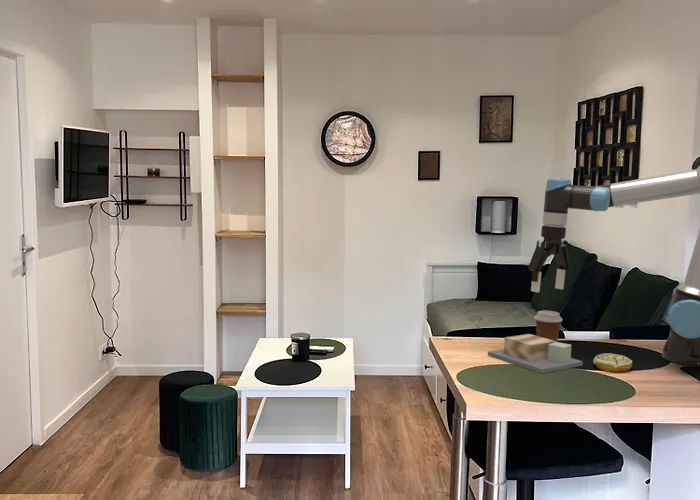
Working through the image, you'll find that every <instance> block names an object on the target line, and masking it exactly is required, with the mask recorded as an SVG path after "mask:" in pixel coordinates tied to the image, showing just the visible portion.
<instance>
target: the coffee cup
mask: <svg viewBox="0 0 700 500" xmlns="http://www.w3.org/2000/svg"><path fill="white" fill-rule="evenodd" d="M533 319H534V320H535V323H536V324H535V325H536V326H535V327H536V336H539V337H543V338H546V339H550V340H554V341H556V342H558V341H559V333H560V329H561V322H563V318H562V317H561V315H560V312H557V311H554V310H553V311H552V310H539V311H537V314H535V315H534V318H533Z"/></svg>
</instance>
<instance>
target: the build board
mask: <svg viewBox="0 0 700 500" xmlns="http://www.w3.org/2000/svg"><path fill="white" fill-rule="evenodd" d="M487 356H488V357H491V358H495V359H497V360H500V361H503V362H506V363H510V364H512V365H515V366H519V367H521V368H525V369H527V370H530V371H534V372H537V373H540V374H546V373H550V372H556V371H561V370H566V369H571V368H576V367H582V366H583V365H584V362H583V361H582V360H579V359H575V358H572V357H571V361H569V362H567V363H565V364H561V363H556V362H551V361H548V358H547V359H542V360H536V361H528V360H524V359H521V358H518V357H515V356H512V355H509V354H506V353H504V348H503V349H497V350H489V351H487Z"/></svg>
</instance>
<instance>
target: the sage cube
mask: <svg viewBox="0 0 700 500" xmlns="http://www.w3.org/2000/svg"><path fill="white" fill-rule="evenodd" d="M571 358H572V344H570V343H569V344H568V343H563V342H554V343H551V344H549V345H548V361H551V362H556V363H561V364H565V363H567V362H569V361H571Z"/></svg>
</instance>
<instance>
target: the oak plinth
mask: <svg viewBox="0 0 700 500" xmlns="http://www.w3.org/2000/svg"><path fill="white" fill-rule="evenodd" d="M554 342H556V341H554V340H550V339H546V338H543V337H539V336H537V335H534V334H530V333H526V334H520V335H519V334H518V335H512V336H511V335H510V336H505V337H504V343H503V344H504V345H503V346H504V348H503V349H504V353H506V354H509V355H512V356H515V357H518V358H521V359H524V360H528V361H536V360H542V359H547V358H548V345H549V344H551V343H554Z"/></svg>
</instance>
